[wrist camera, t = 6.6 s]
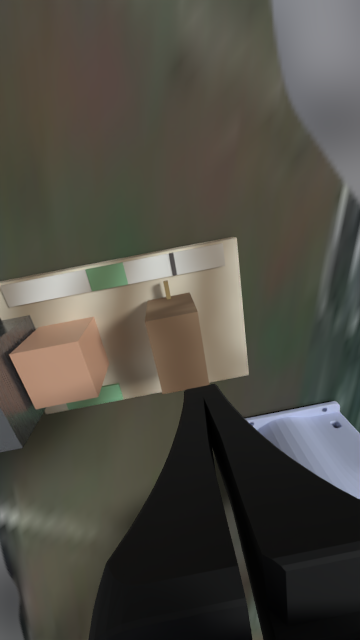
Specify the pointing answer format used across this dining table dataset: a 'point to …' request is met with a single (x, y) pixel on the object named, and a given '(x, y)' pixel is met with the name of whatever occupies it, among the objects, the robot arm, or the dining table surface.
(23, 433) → the grey flat block
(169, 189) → the dining table surface
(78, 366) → the peach matte cube
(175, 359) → the brown box with peg
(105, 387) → the gauge board
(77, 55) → the dining table surface
